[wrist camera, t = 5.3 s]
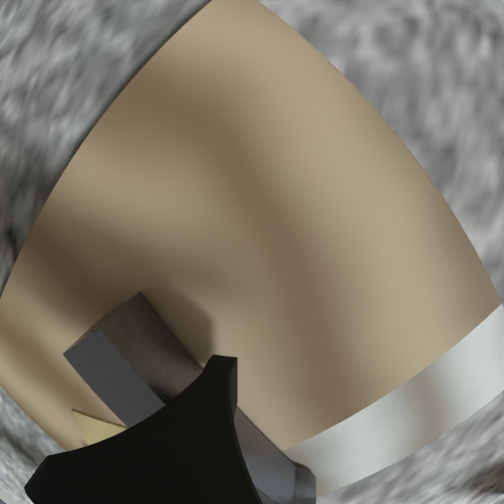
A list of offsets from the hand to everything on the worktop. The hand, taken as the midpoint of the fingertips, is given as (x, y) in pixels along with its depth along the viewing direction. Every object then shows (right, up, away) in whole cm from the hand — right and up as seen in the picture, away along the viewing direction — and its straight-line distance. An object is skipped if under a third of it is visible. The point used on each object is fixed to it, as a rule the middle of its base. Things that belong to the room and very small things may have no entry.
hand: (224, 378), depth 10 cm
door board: (-2, -2, +3) cm, 4 cm away
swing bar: (0, -3, +2) cm, 4 cm away
